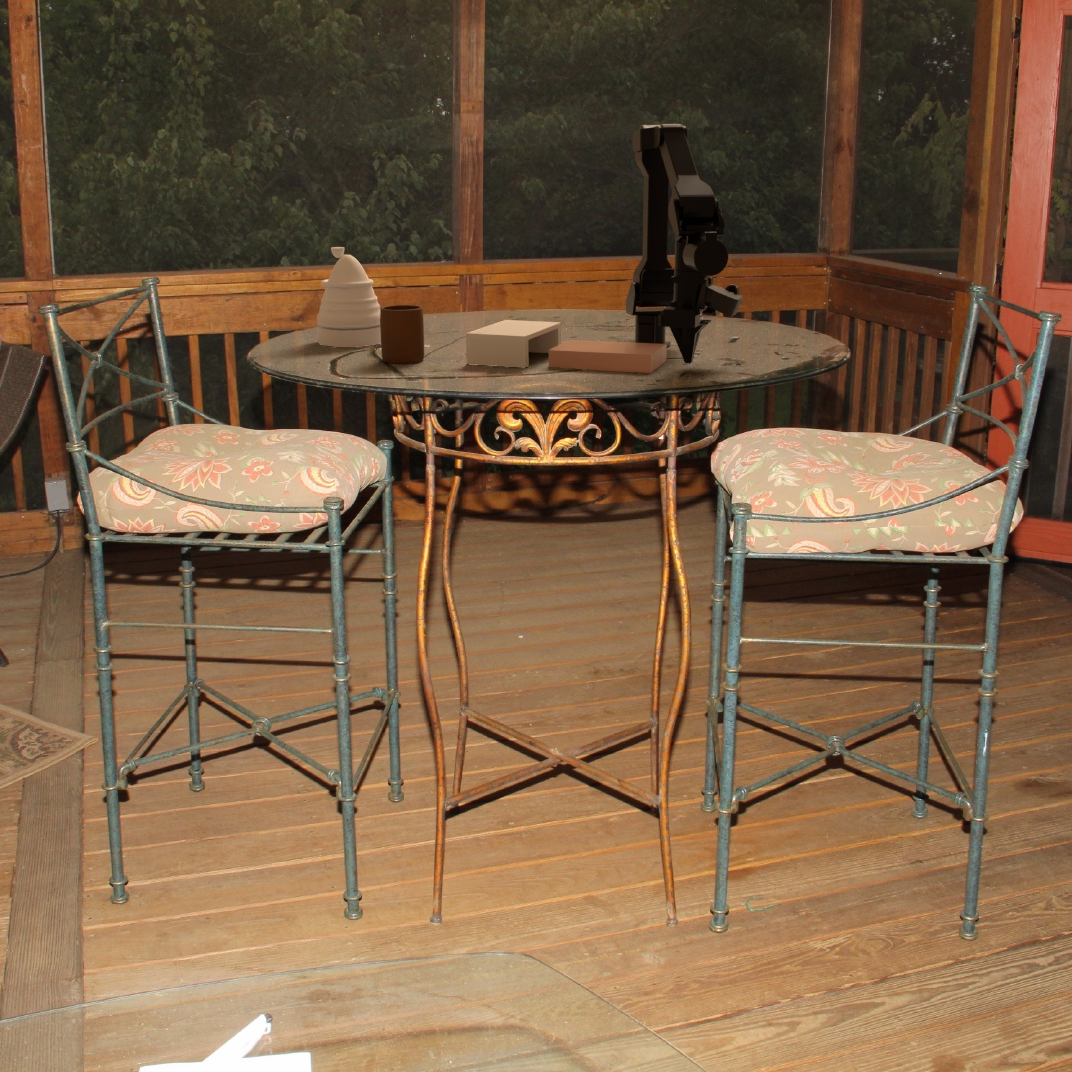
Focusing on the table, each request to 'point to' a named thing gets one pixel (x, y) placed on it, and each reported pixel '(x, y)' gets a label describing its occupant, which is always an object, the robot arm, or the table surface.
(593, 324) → the table surface
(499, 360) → the bridge
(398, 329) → the mug
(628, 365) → the block
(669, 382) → the table surface
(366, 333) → the honey pot
